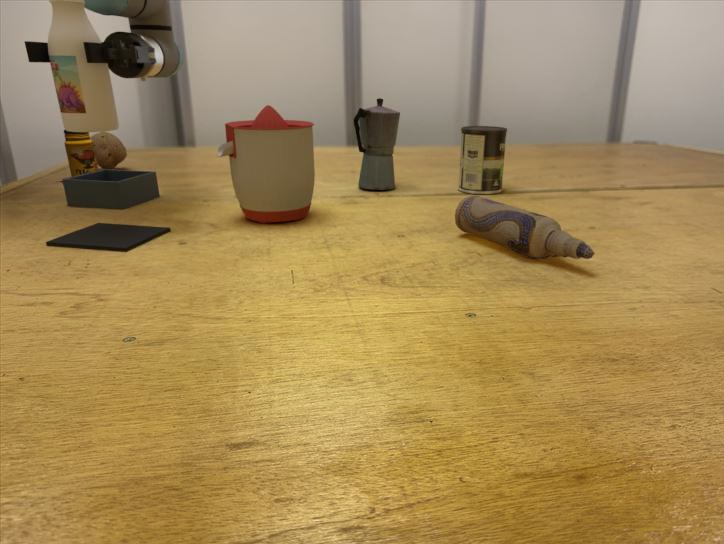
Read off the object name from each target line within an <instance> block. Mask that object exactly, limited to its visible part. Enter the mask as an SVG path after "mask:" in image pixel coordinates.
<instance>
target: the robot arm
mask: <svg viewBox="0 0 724 544" xmlns="http://www.w3.org/2000/svg"><path fill="white" fill-rule="evenodd" d="M84 2H85V4H84V9H86V10H88V11H90V12H93V13H95V14H99V15H101V16H106V17H107V16H113V17H121V18H126V19H128V24H129V25H128V26H129V30H130V31H129V32H128V31H114V32H111V33H110V34H108V35H107V36H106V37H105V39H104V40H103V41H101V42H102V43H93V42H83V44H84V49H85V54H86V59H87V63H108V68H109V71H110V72H112V73H113V74H114V75H115V76H117V77H120V78H123V79H140V81H141V82H146V81H147V78H168V77H171V76H172V77H173V76H174V75H177V74H178V73H179V72H180V70H181V69H182V68H183V64H184V54H183V51H182V49H181V47H180V45H179V44H178V43H177V42H176V41H175V39H174V31H173V27H172V20H171V10H170V4H169V3H170V2H169V0H84ZM24 47H25V50H26V55H27V60H28V63H49V64H50V59H49V53H48V42H43V41H29V40H28V41H27V40H25V41H24Z"/></svg>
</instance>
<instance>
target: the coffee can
mask: <svg viewBox="0 0 724 544" xmlns="http://www.w3.org/2000/svg"><path fill="white" fill-rule="evenodd" d="M460 131H461V136H460V156H459V158H460V159H459V179H458V188H457V189H458V191H459V192H462V193H465V194H472V195H494V194H501V193H502V192H503V180H504V179H503V177H504V165H505V154H506V153H505V151H506V141H507V133H508V128H507V127H503V126H495V125H494V126H491V125H468V126H466V125H465V126H462V127H460Z"/></svg>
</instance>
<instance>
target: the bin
mask: <svg viewBox="0 0 724 544" xmlns="http://www.w3.org/2000/svg"><path fill="white" fill-rule="evenodd" d="M98 170H99V171H95V172H91V173H87V174H82V175H78V176H74V177H72V176H70V177H67V178H62V179H61V180H62V181H61V182H62V185H63V189H64V194H65V199H66V203H67V207H80V208H93V209H94V208H95V209H96V208H97V209H99V208H100V209H109V210H125V209H128V208H130V207H134V206H136V205H138V204H142V203H144V202H147V201H150V200H153V199H157V198H159V197H160V196H161V195H160V190H159V183H158V175H157V172H156V171H149V170H131V169H129V170H128V169H98Z"/></svg>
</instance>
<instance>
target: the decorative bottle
mask: <svg viewBox="0 0 724 544" xmlns="http://www.w3.org/2000/svg"><path fill="white" fill-rule="evenodd" d="M454 220H455V225H456V227H457V228H458V229H459V230H460V231H461V232H462V233H466V234H469V235H473V236H475V237H477V238H481V239H483V240H486V241H489V242H491V243H494V244H497V245H500V246H501V247H505V248H509V249H510V250H511V251H513V252H515V253H517V254H518V255H522V256H523V257H526V258H529V259H531V260H538V259H546V258H549V257H552V258H557V257H563V258H571V259H574V260H580V259H581V258H582V259H585V260H589V259H592V258H593V256H594V255H595V254H596V253H595V252H594V251H593V248H592V247H591V246H590V245H588V244H587V243H586V241H585V240H582V239H579V238H576V237H574V236H572V235H571V234H570V233H569V232H566V231H565V230H562V227H561V224H560V223H559V222H558V221H557V220H556V219H555V218H553V217H549V216H547V215H543V214H540V213H536V212H533V211H529V210H527V209H526V208H520V207H517V206H514V205H509V204H506V203H503V202H499V201H497V200H492V199H490V198H486V197H482V196H481V195H479V194H472V195H469V196H466V197H464V198H463V199H461V201H459V202H458V205H457V207H456V209H455V212H454Z"/></svg>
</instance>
